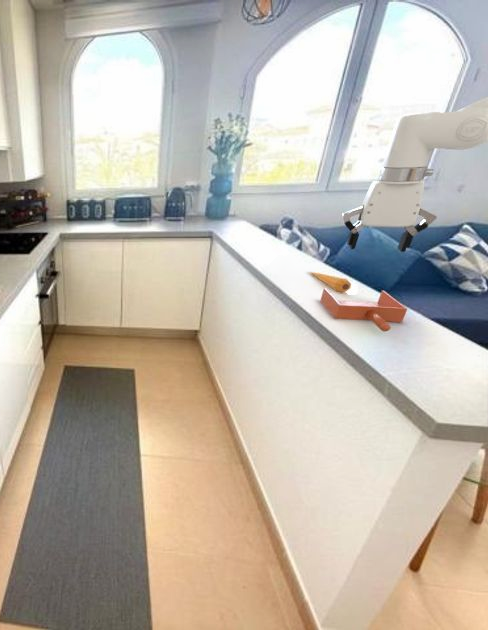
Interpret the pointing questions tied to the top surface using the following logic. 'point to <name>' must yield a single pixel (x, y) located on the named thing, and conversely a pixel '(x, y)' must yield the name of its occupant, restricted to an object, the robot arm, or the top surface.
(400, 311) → the dustpan
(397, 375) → the top surface
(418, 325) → the top surface
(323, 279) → the carrot
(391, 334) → the top surface
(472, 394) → the top surface
